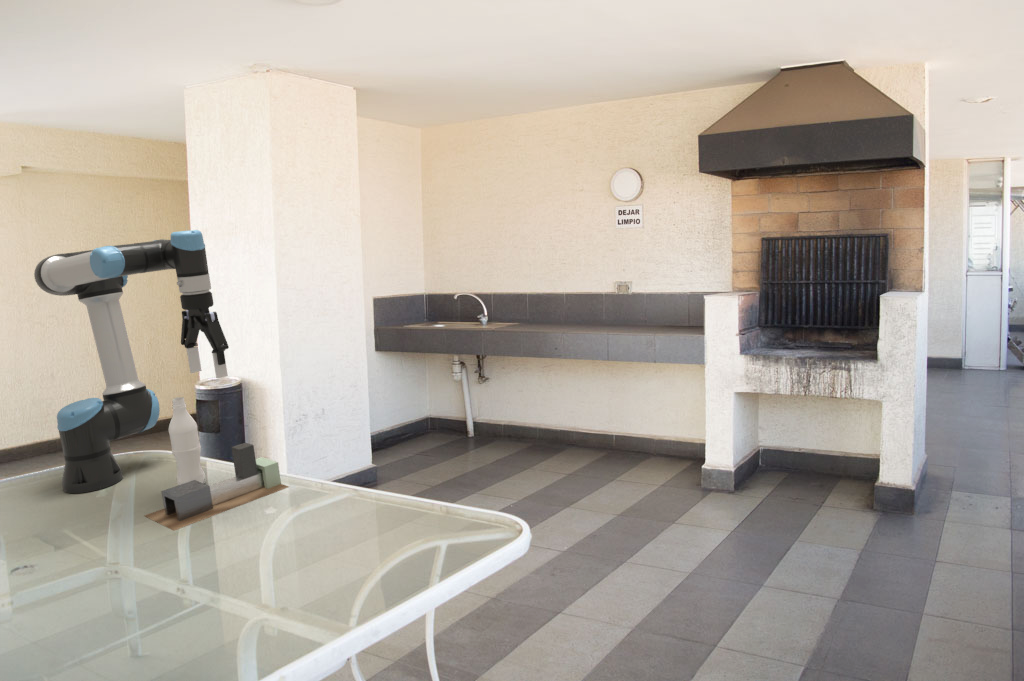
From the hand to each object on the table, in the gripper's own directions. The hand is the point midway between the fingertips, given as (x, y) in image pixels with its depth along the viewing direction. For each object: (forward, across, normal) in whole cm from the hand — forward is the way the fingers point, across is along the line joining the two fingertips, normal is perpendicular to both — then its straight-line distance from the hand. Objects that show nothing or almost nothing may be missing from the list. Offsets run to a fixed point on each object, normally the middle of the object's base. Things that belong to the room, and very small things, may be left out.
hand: (208, 374), depth 206 cm
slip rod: (+31, +7, -2) cm, 32 cm away
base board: (+32, +7, -6) cm, 33 cm away
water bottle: (+32, -11, -4) cm, 34 cm away
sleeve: (+32, +7, -14) cm, 35 cm away
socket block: (+32, +7, +8) cm, 33 cm away
